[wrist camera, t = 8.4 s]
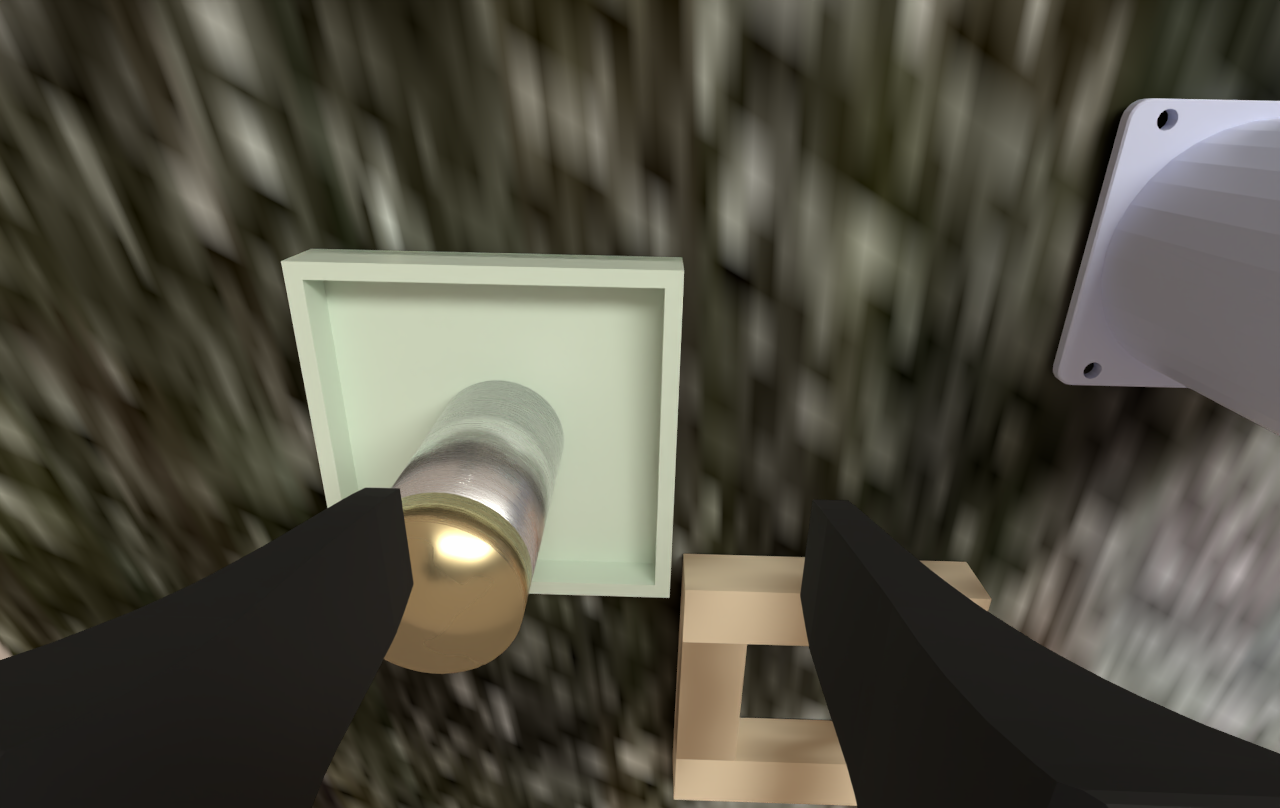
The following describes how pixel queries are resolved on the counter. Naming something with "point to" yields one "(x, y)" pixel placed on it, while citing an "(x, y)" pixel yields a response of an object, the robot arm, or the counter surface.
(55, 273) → the counter surface
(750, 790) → the tan square frame
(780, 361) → the counter surface
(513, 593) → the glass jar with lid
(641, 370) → the tray
